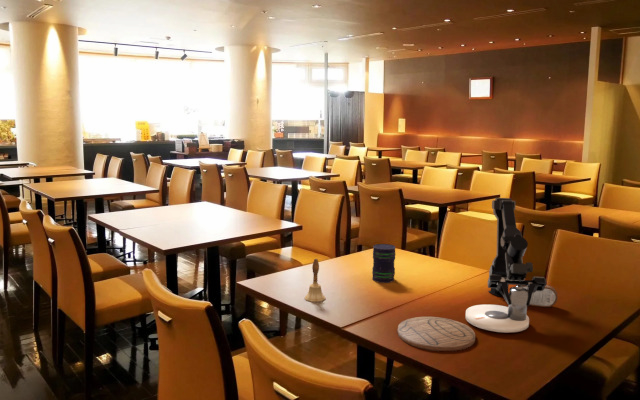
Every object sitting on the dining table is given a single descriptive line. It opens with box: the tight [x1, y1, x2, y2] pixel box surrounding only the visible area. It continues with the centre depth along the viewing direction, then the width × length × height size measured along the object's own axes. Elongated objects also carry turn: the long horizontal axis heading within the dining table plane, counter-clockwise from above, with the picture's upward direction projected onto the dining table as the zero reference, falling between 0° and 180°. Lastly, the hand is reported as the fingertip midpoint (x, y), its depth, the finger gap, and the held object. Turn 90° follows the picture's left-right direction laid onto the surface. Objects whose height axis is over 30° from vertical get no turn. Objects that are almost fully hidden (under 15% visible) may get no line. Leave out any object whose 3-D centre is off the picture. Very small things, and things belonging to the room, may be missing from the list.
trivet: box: [397, 316, 476, 352], centre depth 174 cm, size 25×25×2 cm
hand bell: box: [304, 258, 326, 303], centre depth 207 cm, size 8×8×16 cm
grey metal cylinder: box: [507, 285, 528, 321], centre depth 182 cm, size 6×6×11 cm
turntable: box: [465, 304, 530, 333], centre depth 185 cm, size 21×21×2 cm
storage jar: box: [371, 243, 396, 284], centre depth 233 cm, size 10×10×15 cm
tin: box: [521, 284, 558, 308], centre depth 203 cm, size 15×3×8 cm, turn 71°
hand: (518, 304), depth 180 cm, fingers closed on grey metal cylinder, 6 cm apart
